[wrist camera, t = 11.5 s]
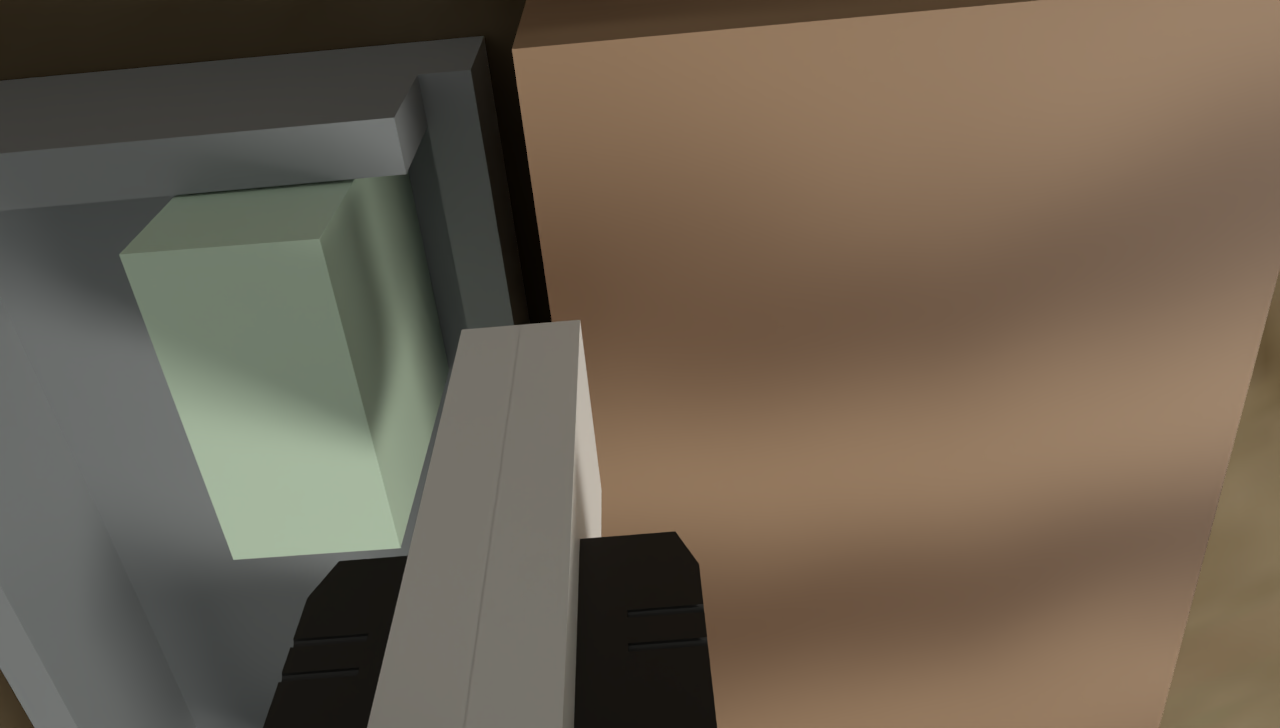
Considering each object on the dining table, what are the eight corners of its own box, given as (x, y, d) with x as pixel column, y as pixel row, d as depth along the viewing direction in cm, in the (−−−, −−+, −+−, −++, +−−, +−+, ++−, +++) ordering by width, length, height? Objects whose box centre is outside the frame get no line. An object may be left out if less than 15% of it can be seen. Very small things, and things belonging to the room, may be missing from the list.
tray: (598, 750, 27) (596, 900, 23) (211, 780, 27) (153, 933, 23) (484, 35, 17) (453, 111, 14) (-109, 90, 17) (-283, 179, 14)
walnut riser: (1026, 742, 27) (1105, 933, 23) (640, 772, 27) (646, 967, 23) (1163, -93, 17) (1358, -30, 12) (535, -33, 17) (511, 49, 12)
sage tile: (401, 547, 15) (233, 559, 15) (449, 369, 20) (318, 379, 20) (319, 238, 13) (119, 254, 13) (395, 110, 17) (244, 122, 17)
